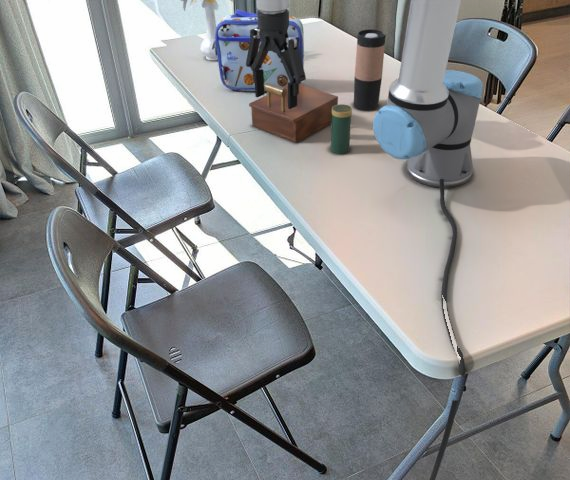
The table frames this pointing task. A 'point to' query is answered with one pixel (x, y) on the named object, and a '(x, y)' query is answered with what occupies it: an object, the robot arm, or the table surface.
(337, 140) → the tea tin
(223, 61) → the lunch box
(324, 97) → the case lid
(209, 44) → the flower vase
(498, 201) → the table surface
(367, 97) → the travel mug
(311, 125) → the case
